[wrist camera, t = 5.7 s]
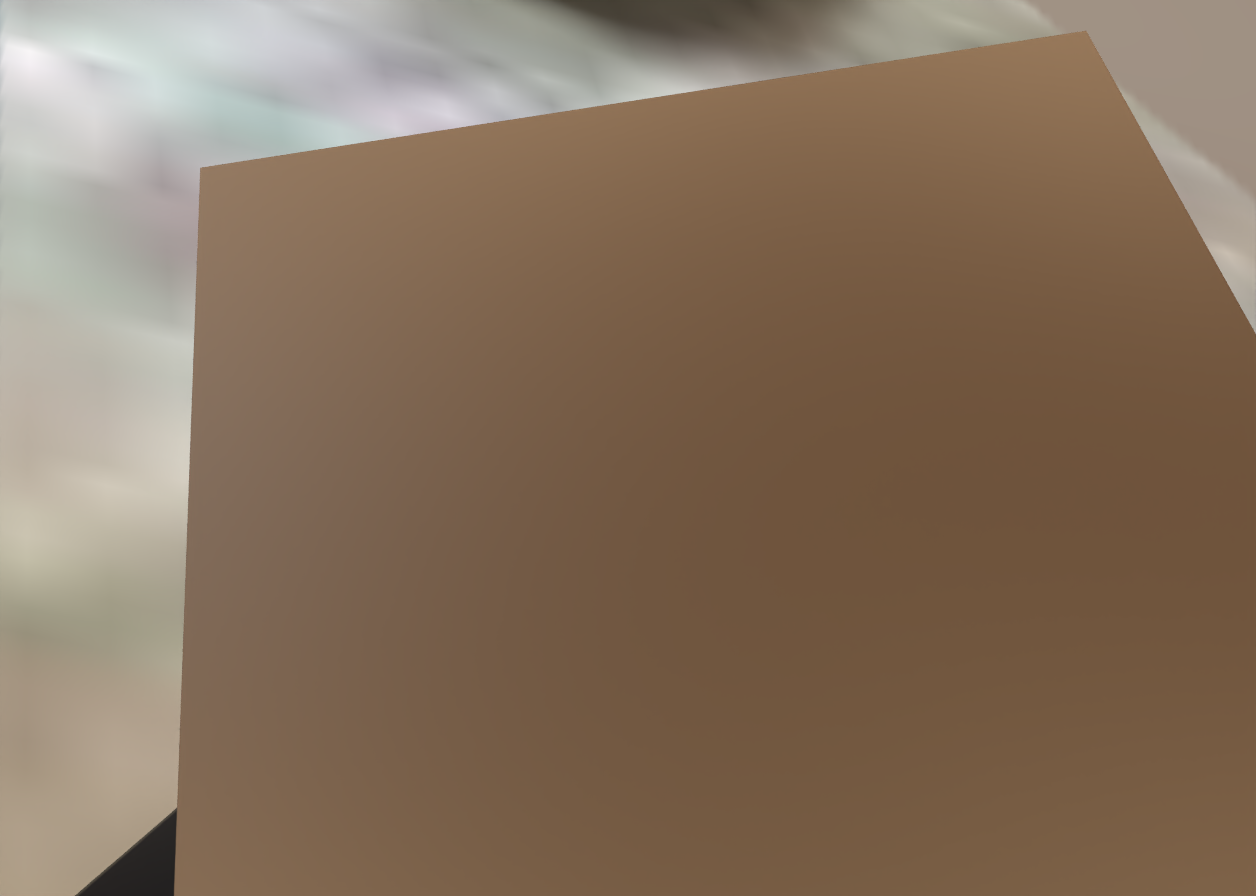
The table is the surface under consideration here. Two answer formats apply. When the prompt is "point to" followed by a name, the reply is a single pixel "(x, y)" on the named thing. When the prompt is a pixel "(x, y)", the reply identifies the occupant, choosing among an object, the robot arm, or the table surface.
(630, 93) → the table surface
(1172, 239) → the wooden block
